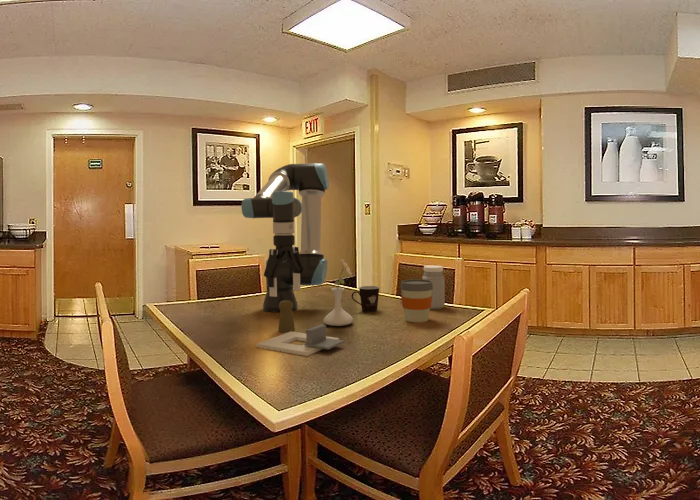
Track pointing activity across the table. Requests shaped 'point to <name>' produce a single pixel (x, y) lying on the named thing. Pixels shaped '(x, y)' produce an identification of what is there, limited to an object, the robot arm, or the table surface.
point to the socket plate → (282, 344)
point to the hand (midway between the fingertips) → (285, 293)
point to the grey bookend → (320, 338)
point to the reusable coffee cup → (416, 299)
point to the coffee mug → (368, 298)
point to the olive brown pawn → (286, 317)
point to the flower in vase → (339, 303)
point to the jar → (436, 285)
